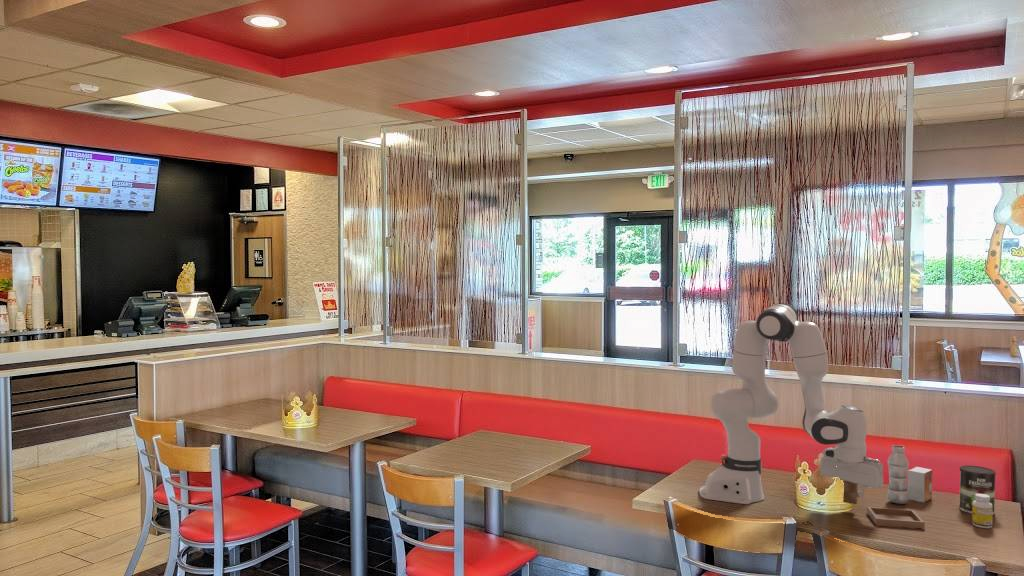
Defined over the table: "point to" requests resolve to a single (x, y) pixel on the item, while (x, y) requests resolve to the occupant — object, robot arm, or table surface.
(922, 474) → the small box
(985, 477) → the coffee can
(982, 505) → the supplement bottle
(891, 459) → the plastic bottle
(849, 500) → the block
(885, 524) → the tray
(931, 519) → the table surface
